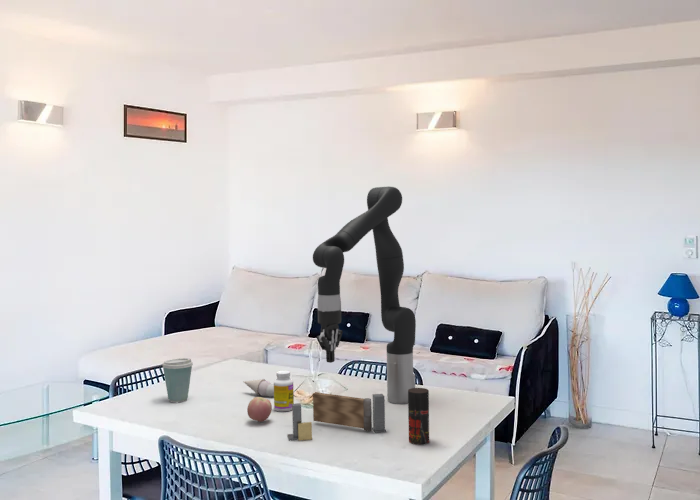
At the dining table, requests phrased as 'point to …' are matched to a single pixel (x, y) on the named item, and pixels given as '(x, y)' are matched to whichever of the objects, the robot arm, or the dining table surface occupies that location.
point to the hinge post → (378, 413)
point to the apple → (259, 409)
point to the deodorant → (418, 416)
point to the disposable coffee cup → (177, 378)
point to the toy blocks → (299, 425)
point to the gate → (342, 410)
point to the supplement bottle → (283, 392)
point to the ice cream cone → (261, 387)
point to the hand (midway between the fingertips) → (330, 361)
